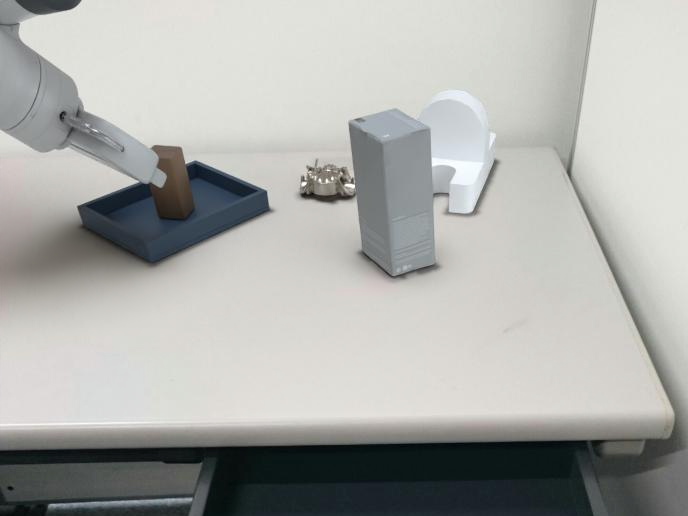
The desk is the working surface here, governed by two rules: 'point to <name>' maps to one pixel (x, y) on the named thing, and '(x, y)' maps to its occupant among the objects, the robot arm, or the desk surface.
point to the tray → (173, 234)
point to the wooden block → (172, 184)
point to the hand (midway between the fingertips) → (138, 170)
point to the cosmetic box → (394, 190)
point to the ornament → (327, 181)
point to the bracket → (459, 147)
